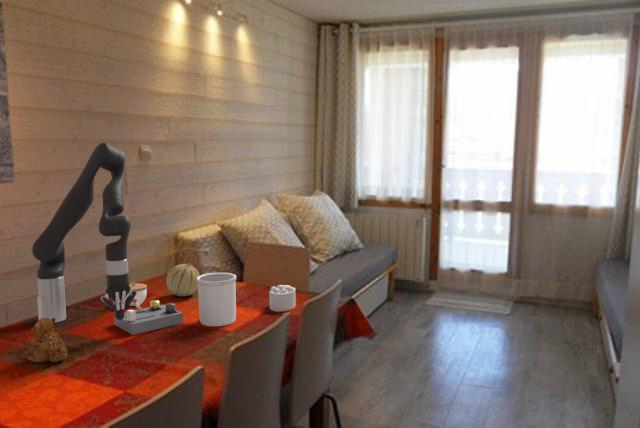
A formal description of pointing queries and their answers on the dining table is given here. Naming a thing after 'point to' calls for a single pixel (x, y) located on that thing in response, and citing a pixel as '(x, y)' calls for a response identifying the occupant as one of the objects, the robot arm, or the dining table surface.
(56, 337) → the brown teddy bear
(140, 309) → the toggle lever
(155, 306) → the button brass
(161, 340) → the dining table surface
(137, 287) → the lidded jar
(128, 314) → the matte white cuboid
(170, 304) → the button dark gray
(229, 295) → the utensil holder
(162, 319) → the panel
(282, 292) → the lumpy-topped squat cylinder
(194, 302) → the dining table surface
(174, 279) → the cantaloupe
